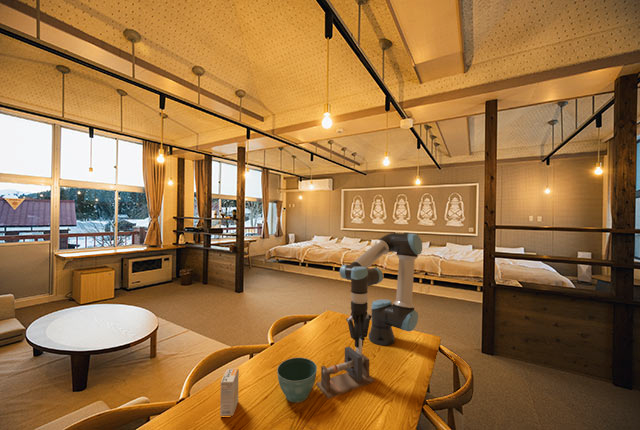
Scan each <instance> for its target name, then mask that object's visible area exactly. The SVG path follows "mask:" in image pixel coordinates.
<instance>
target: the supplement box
mask: <svg viewBox="0 0 640 430" xmlns="http://www.w3.org/2000/svg"><path fill="white" fill-rule="evenodd" d="M239 375H240V374H239V368H227V369H226V370H225V372H224V375H223V376H222V378H221V381H220V403H219V404H220V408H219V409H220V413H219V414H220V415H219V417H220V416H233V415H234V416H235V413H236V411H237V406H238V403H239ZM234 412H235V413H234ZM234 416H233V417H234Z"/></svg>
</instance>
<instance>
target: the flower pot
mask: <svg viewBox="0 0 640 430" xmlns="http://www.w3.org/2000/svg"><path fill="white" fill-rule="evenodd" d="M317 369H318V367H317V364H316V363H315V362H314V361H313V360H311V359H309V358H306V357H291V358H288V359H286V360H283V361H281V363H280V364H279V365H278V367H277V370H276V371H277V372H276V373H277V380H278V384H279V387H280V389H281V391H282V393H283V394H284V395H285V398H286V400H287V401H289V402H290V403H295V404H297V403H301V402H304V401H306V399H308V397H309V394H310V392H311V391H312V389H313V387H314V385H315V382H316V377H317Z"/></svg>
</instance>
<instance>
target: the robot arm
mask: <svg viewBox="0 0 640 430" xmlns="http://www.w3.org/2000/svg"><path fill="white" fill-rule="evenodd" d="M422 251H423V242H422V239H421V237H420V236H419V234H417V233H409V232H408V233H404V232H401V233H400V232H392V233H391V232H390V233H388V234H385V235H383V236H381V237H379V238H378V239H377V240H376V241H375V242H374V245H372V246H371V247H369V248H368V249H367V250H366V251H365V252H364V253H362V254H361V255H360V256H359V257H357V258H356V259H355V260H353V262H351V263H350V264H342V265H341V266H340V268H339V275H340V277H341V278H342V279H344V280H347V281H350V300H351V301H350V309H351V311H350V316H349V318H348V317H347V318H346V322H347V324H348V329H349V334H350V339H352V340H353V341H354V347H355V351H356V352H357V353H358V354H360V355H362V354H363V346H364V341H365V340H366V338H367V337H368V340H369V341H370V342H371V343H373V344H375V345H379V346H391V345H393V344H395V341H396V340H395V335H394V331H393V328H392V327H394V328H396V329H400V330H402V331H405V332H412V331H414V329H415V328H416V326H417V324H418V321H419V313H418V311H417V310H415V305H414V304H413V291H414V274H415V273H414V272H415V261H416V259H418V257H419V255H421V254H422ZM391 252H392V253H393V252H394V253H396V256H397V257H398V270H397V282H396V283H397V284H396V297H395V298H396V299H395V301H393V302H392V300H389V299H377V300H373V301H372V303H371V314H369V313H368V308H369V307H368V299H369V297H368V296H369V295H368V293H369V292H368V288H369V287H370V286H374V285H378V284H380V283H381V282H382V281H383V279H384V274H383V271H382V270H381V269H379V268H377V267H372V268H369V267H371V266H372V265H373V264H374V263H375V262H376V261H378V260H379V259H380V258H381V257H382V256H383V255H384V256H385V255H387V254H388V253H391ZM370 323H371V327H370ZM369 328H370V330H369ZM368 332H369V333H368Z"/></svg>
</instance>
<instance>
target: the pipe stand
mask: <svg viewBox="0 0 640 430" xmlns="http://www.w3.org/2000/svg"><path fill="white" fill-rule="evenodd" d="M361 356H362V380H361V381H359V382H357V381H356V380H355V379H354V378H353V377H352V376H351V375H350V374H349V373H348V372H347V371H346V370H345V369H348V368H351V367H354V360H352V361H349V362H345V361H344V362H343V363H339V364H334V365H331V366H330V367H326V366H325V365H322V366H320V372H321V373H320V375H321V376H320V377H321V378H320V381H318V382H316V386H317V387H318V389H319V390H320V391H321V393H322V394H323V395H324V396H325V398H326V399H327V400H330V399H333V398H335V397H338V396H340V395H342V394H346V393H347V392H350V391H353V390H356V389H358V388H361V387H364V386H366V385H369V384H372V383H374V382H375V380H376V379H375V378H374V377H372V375H370V358H368V357H367V356H365V355H364V354H363V353H362V355H361ZM343 371H346V372H345V373H341V374H339V375H336V376H333V377H331V375H334V374H338V373H339V372H343Z"/></svg>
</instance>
